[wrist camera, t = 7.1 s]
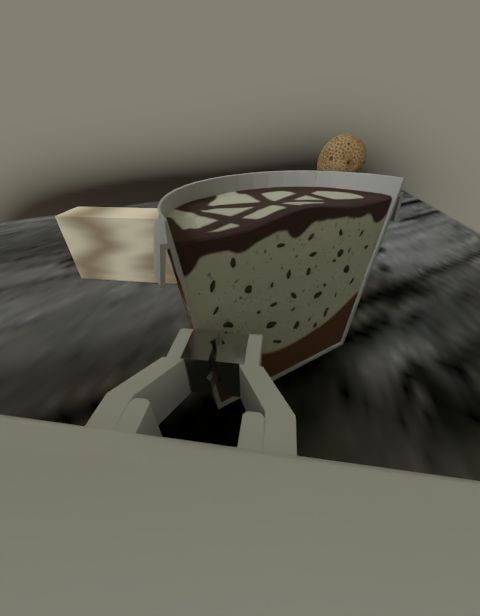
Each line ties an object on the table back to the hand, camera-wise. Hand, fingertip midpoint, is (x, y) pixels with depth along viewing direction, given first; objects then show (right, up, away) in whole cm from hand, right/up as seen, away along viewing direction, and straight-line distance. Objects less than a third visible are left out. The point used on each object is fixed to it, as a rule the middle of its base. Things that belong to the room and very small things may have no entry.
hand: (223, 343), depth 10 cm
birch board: (-5, +4, +15) cm, 16 cm away
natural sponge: (+21, +26, +44) cm, 55 cm away
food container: (+2, -1, +7) cm, 8 cm away
